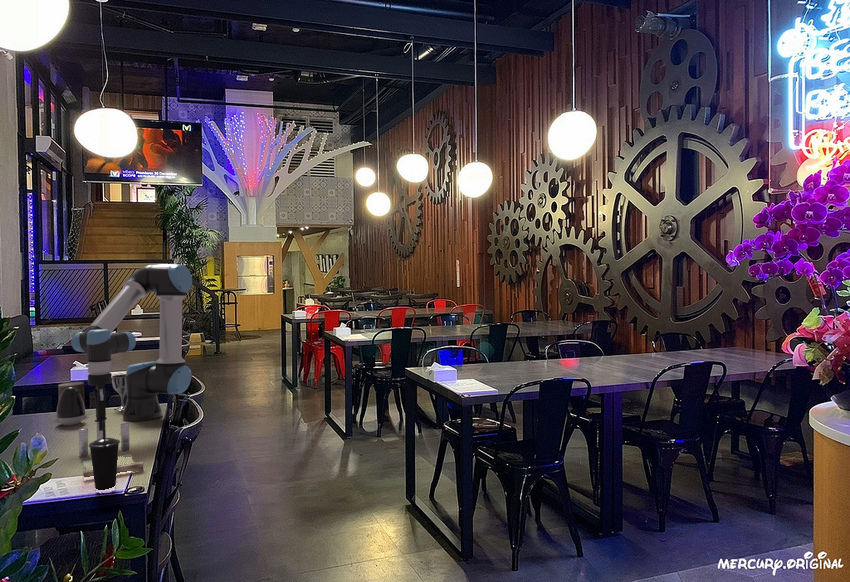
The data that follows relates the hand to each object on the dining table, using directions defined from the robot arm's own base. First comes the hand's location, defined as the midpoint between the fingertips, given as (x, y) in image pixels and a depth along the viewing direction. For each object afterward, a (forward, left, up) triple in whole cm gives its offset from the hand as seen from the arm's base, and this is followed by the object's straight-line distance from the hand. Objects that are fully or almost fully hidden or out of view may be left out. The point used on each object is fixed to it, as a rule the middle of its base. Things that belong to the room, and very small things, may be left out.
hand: (101, 438), depth 220 cm
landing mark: (0, +27, -2) cm, 27 cm away
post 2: (-6, +13, -2) cm, 15 cm away
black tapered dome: (+8, -41, -2) cm, 42 cm away
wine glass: (-14, -61, -2) cm, 63 cm away
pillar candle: (+6, -59, -2) cm, 59 cm away
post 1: (+6, +13, -2) cm, 15 cm away
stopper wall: (0, +41, -2) cm, 41 cm away
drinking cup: (+4, +55, -2) cm, 55 cm away
